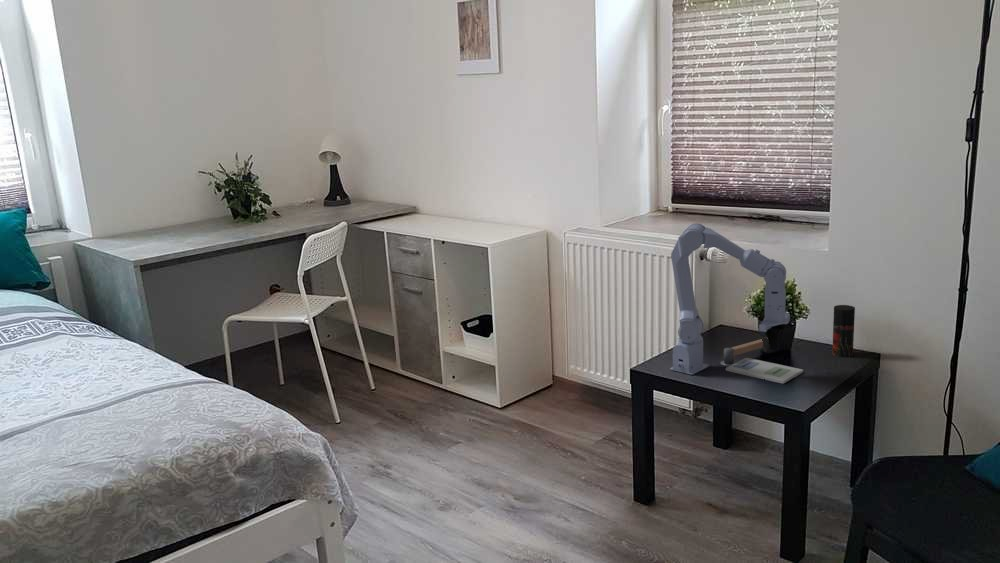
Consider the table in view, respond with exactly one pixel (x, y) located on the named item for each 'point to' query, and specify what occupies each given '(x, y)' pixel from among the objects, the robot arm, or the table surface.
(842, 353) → the deodorant
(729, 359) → the swing bar
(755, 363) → the label panel
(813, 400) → the table surface
